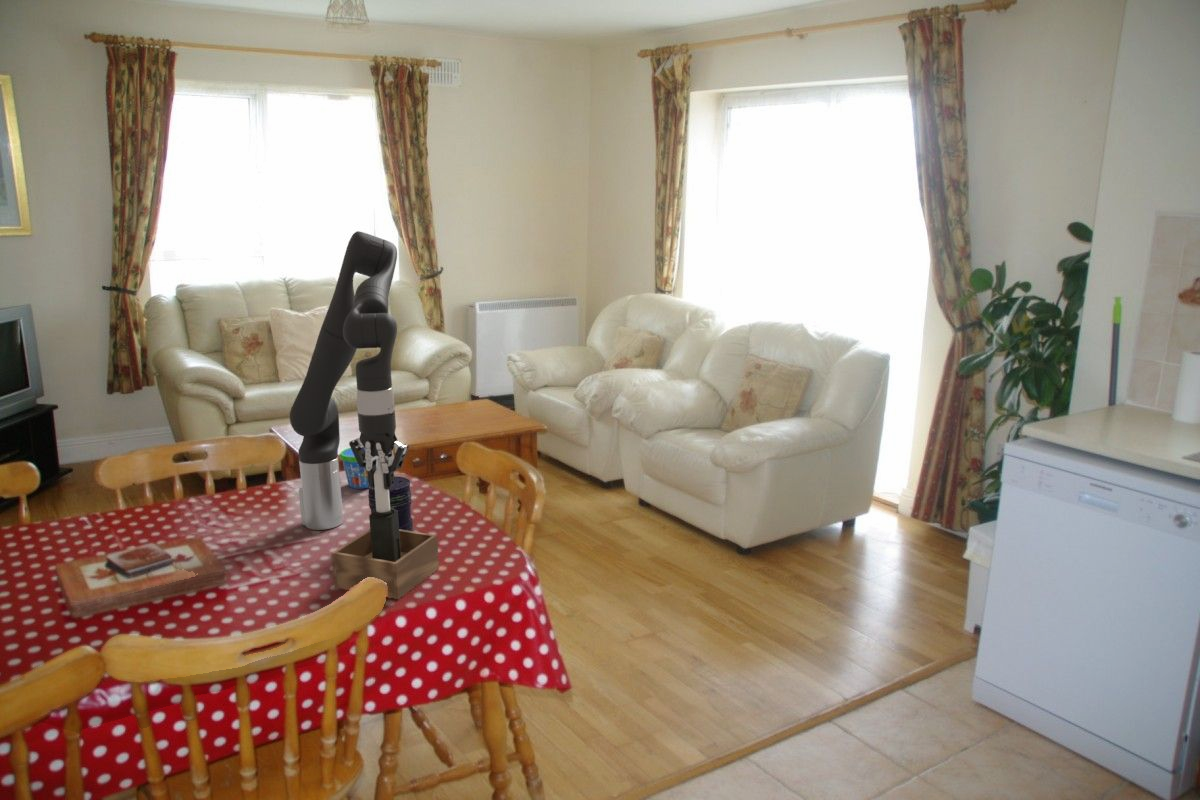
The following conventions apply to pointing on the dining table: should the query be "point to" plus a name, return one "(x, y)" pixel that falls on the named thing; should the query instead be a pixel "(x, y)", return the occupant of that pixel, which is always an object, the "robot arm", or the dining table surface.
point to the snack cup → (354, 470)
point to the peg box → (387, 563)
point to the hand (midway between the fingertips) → (381, 487)
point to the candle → (384, 522)
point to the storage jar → (397, 501)
